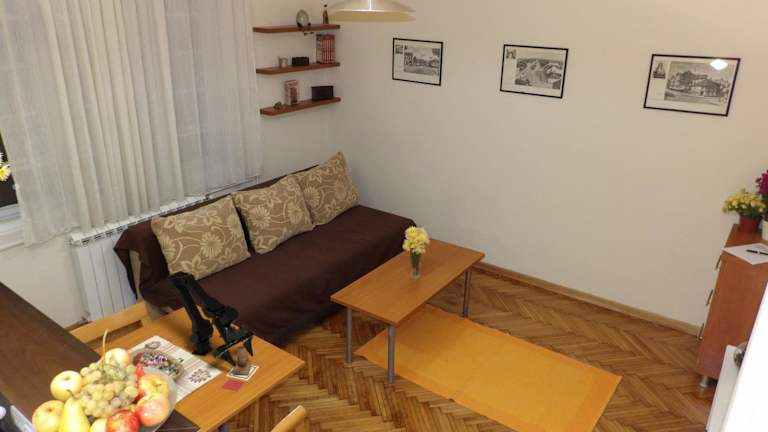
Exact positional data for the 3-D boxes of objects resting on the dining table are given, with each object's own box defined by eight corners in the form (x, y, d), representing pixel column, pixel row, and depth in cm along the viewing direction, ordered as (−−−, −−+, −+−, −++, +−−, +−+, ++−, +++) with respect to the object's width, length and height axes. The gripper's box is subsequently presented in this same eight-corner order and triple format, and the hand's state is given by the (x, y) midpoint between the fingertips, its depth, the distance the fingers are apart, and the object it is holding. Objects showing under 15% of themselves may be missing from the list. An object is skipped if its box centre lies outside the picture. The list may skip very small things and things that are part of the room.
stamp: (233, 375, 233) (232, 352, 230) (237, 366, 239) (235, 344, 235) (247, 375, 233) (246, 353, 230) (251, 367, 239) (250, 345, 235)
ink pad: (219, 390, 225) (219, 388, 225) (228, 380, 232) (228, 378, 231) (237, 394, 223) (237, 392, 223) (246, 383, 230) (246, 381, 229)
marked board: (225, 377, 233) (225, 375, 233) (238, 364, 242) (237, 362, 242) (247, 382, 231) (247, 380, 230) (259, 368, 240) (259, 366, 239)
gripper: (215, 331, 223) (235, 364, 221) (250, 312, 238) (270, 344, 236) (203, 341, 230) (223, 374, 228) (239, 323, 245) (257, 353, 242)
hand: (244, 361), depth 233 cm, fingers open, 9 cm apart
